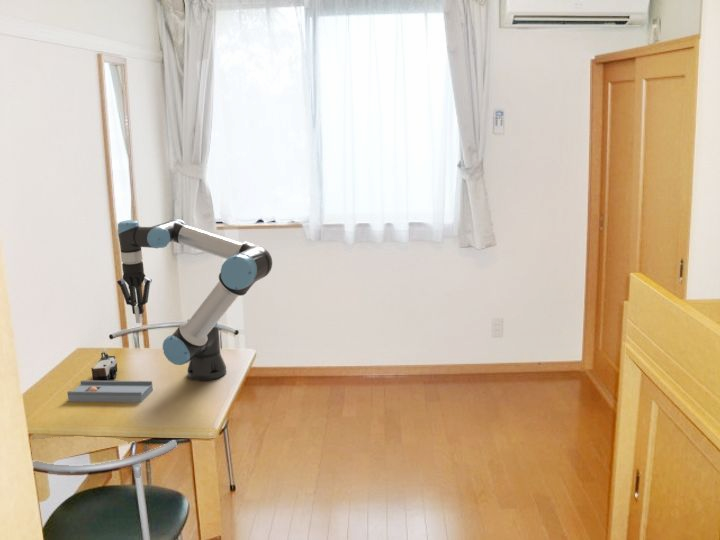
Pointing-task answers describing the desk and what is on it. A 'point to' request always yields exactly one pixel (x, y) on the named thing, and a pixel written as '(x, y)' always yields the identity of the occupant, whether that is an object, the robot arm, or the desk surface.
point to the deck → (111, 391)
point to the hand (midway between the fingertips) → (139, 321)
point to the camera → (105, 368)
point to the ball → (93, 389)
